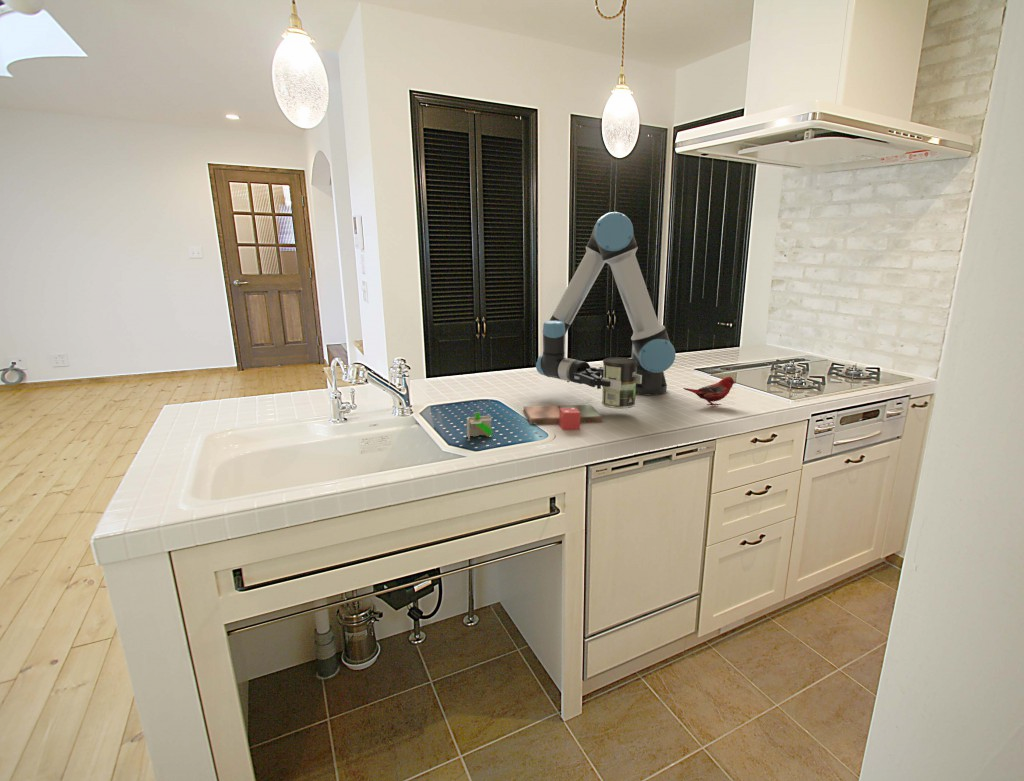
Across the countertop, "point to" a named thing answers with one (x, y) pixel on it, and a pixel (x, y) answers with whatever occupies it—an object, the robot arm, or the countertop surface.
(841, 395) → the countertop surface
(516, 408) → the countertop surface
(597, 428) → the countertop surface
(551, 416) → the green brown wooden board
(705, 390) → the decorative bird figurine
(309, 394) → the countertop surface
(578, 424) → the red cube
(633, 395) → the coffee can
